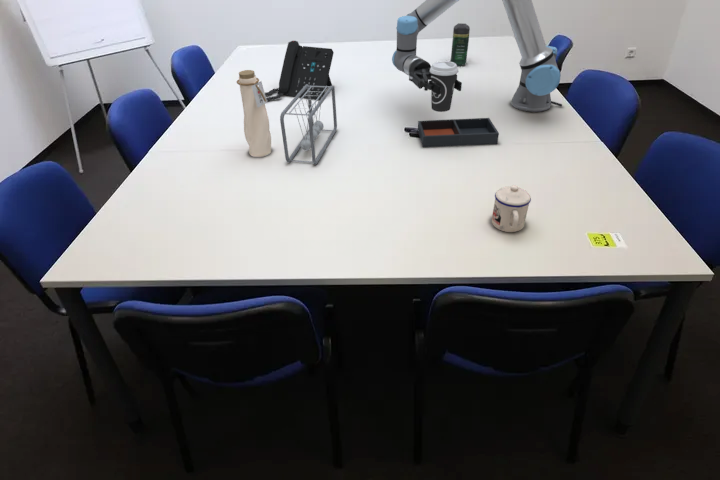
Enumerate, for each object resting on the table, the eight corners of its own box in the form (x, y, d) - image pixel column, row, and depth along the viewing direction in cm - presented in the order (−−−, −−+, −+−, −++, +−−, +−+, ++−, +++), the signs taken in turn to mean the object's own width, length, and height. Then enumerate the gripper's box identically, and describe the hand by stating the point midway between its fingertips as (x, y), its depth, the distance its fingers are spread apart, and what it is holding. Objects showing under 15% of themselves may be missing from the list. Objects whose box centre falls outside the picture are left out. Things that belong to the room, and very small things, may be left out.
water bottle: (280, 148, 169) (269, 69, 152) (269, 159, 162) (255, 78, 145) (255, 145, 172) (241, 66, 155) (243, 156, 165) (227, 75, 148)
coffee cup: (454, 114, 161) (458, 69, 151) (426, 112, 162) (428, 68, 153) (455, 103, 168) (459, 60, 159) (428, 102, 170) (431, 59, 160)
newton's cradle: (311, 128, 182) (306, 82, 171) (337, 129, 180) (334, 83, 170) (285, 165, 159) (278, 114, 148) (315, 167, 157) (310, 116, 146)
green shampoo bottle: (466, 66, 235) (470, 26, 224) (450, 66, 236) (453, 26, 225) (466, 60, 243) (470, 22, 232) (450, 60, 244) (453, 22, 233)
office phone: (248, 102, 206) (240, 54, 194) (281, 81, 227) (275, 36, 214) (308, 110, 197) (303, 60, 185) (336, 87, 217) (333, 41, 205)
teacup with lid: (488, 213, 132) (494, 177, 125) (521, 214, 132) (529, 177, 125) (494, 239, 123) (501, 201, 116) (530, 240, 122) (539, 202, 115)
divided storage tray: (487, 128, 177) (489, 117, 175) (497, 144, 167) (499, 133, 164) (417, 131, 177) (418, 120, 175) (422, 147, 166) (423, 136, 164)
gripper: (441, 75, 178) (474, 95, 161) (392, 83, 173) (422, 104, 156) (442, 54, 174) (477, 72, 157) (393, 62, 168) (423, 82, 151)
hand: (449, 88), depth 156 cm, fingers closed on coffee cup, 7 cm apart
